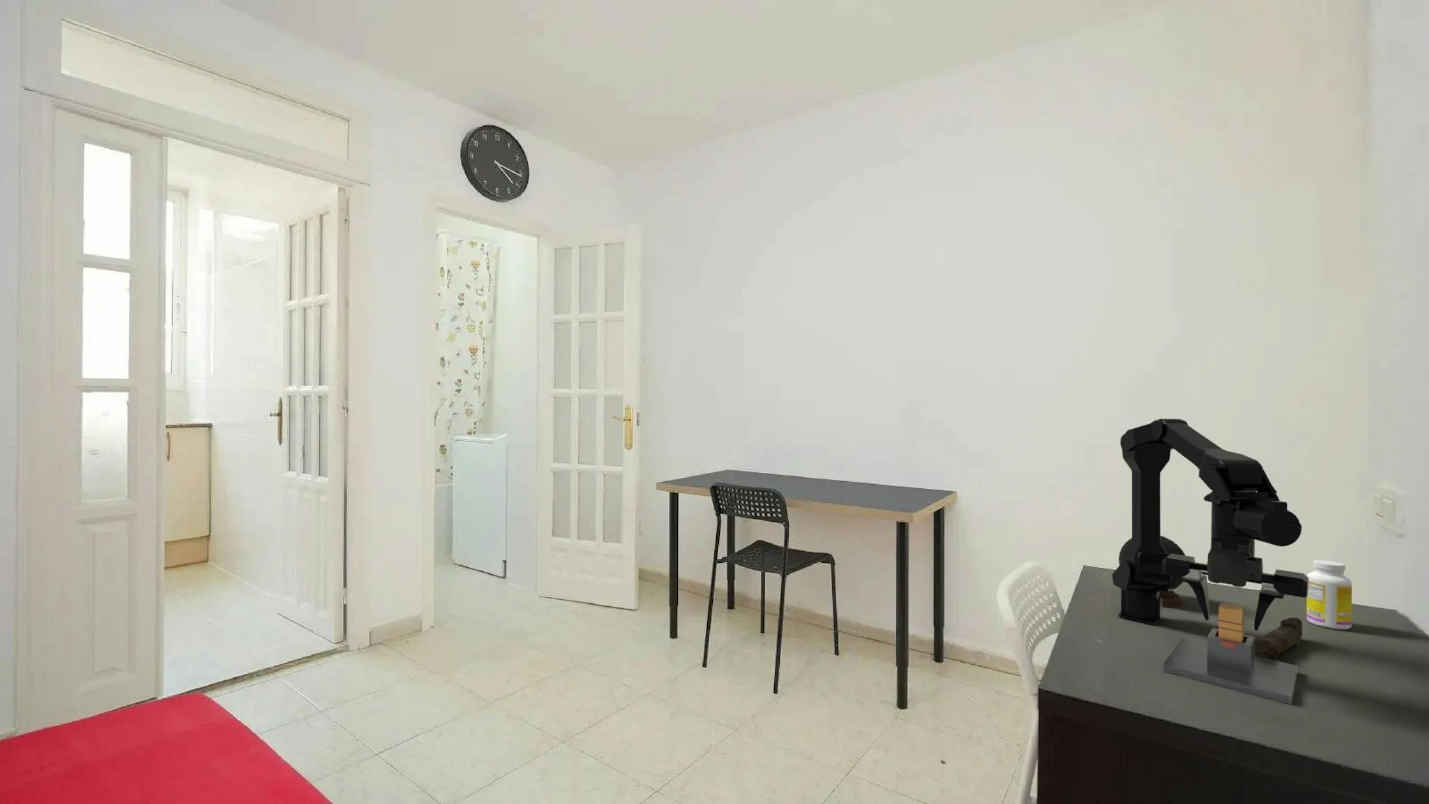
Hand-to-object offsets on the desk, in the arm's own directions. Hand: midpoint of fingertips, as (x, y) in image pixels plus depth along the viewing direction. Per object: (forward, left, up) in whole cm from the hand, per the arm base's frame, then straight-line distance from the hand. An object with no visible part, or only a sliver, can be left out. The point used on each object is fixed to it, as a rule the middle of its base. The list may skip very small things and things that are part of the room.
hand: (1231, 624), depth 106 cm
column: (0, 0, -7) cm, 7 cm away
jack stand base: (0, 0, -8) cm, 8 cm away
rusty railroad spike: (+5, +20, -8) cm, 22 cm away
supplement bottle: (+11, +44, -8) cm, 46 cm away
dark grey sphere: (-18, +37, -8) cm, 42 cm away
